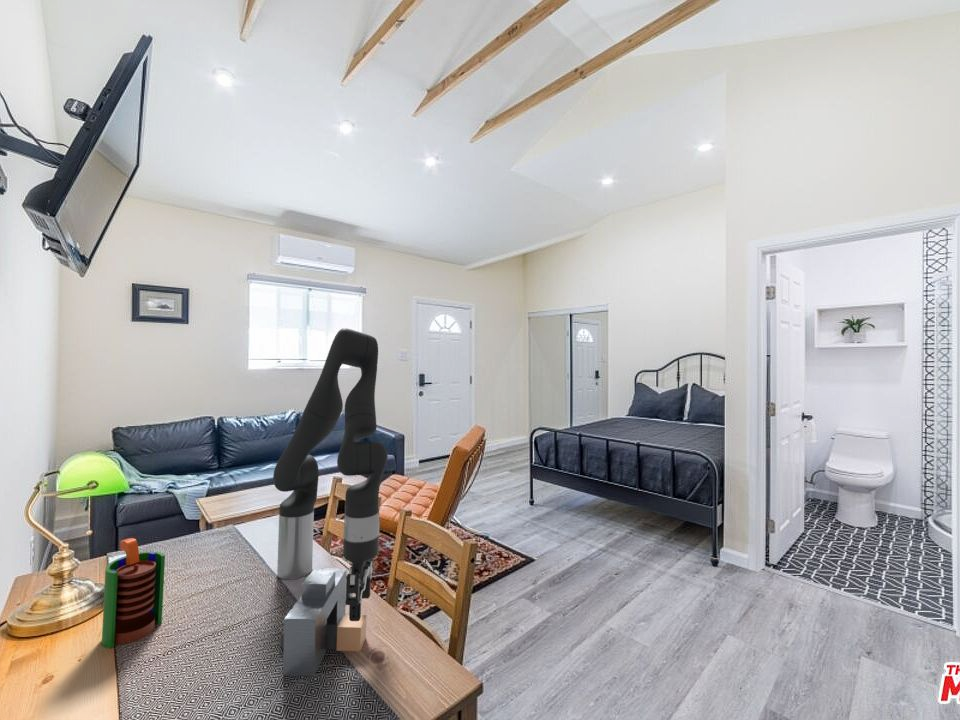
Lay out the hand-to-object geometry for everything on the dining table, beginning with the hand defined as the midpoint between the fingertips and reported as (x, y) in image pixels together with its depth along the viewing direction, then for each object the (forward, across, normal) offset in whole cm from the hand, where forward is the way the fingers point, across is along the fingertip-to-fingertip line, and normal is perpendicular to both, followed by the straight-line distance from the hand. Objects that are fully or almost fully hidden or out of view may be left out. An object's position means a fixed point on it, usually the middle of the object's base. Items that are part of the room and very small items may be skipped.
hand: (360, 608), depth 91 cm
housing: (+7, 0, +9) cm, 12 cm away
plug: (+7, 0, +8) cm, 10 cm away
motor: (+7, +3, +51) cm, 52 cm away
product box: (+6, +22, +68) cm, 72 cm away
